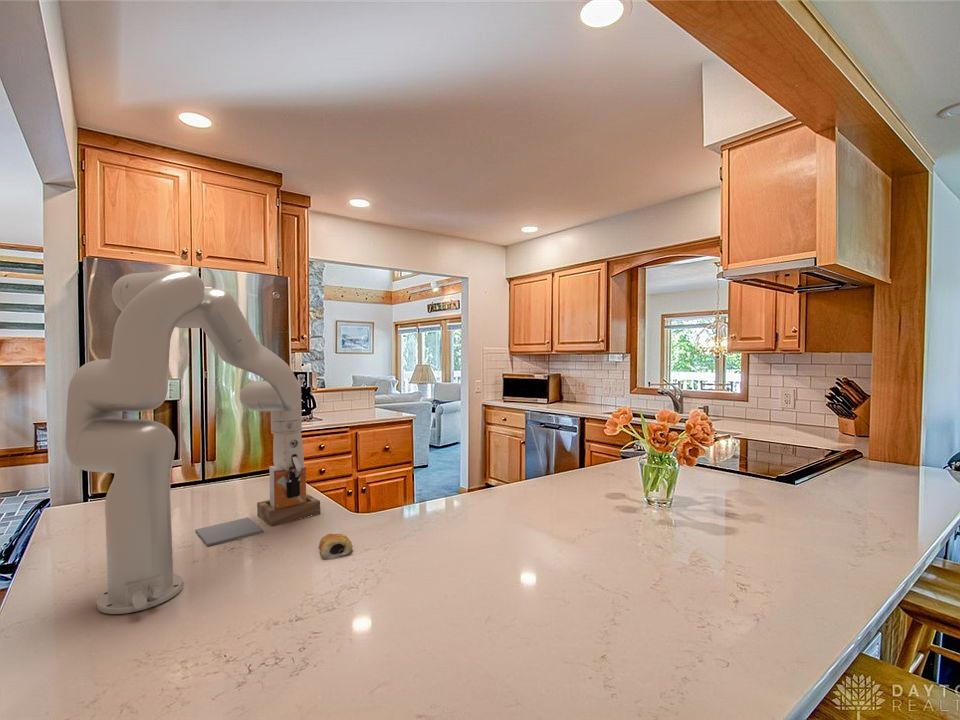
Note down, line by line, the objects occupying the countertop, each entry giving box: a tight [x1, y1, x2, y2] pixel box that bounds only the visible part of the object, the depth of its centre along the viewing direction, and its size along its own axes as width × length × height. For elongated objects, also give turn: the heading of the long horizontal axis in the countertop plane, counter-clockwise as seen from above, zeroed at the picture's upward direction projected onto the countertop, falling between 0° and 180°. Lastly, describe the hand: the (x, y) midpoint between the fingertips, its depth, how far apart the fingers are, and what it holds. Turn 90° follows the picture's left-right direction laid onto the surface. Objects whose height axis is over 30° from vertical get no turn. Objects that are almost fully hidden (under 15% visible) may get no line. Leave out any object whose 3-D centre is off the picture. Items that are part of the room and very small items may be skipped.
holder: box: [256, 493, 321, 527], centre depth 127 cm, size 11×13×4 cm
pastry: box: [318, 533, 353, 560], centre depth 104 cm, size 9×7×4 cm
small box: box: [268, 465, 307, 509], centre depth 127 cm, size 8×6×13 cm
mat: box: [194, 516, 264, 547], centre depth 115 cm, size 12×12×1 cm
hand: (287, 493), depth 126 cm, fingers closed on small box, 6 cm apart
